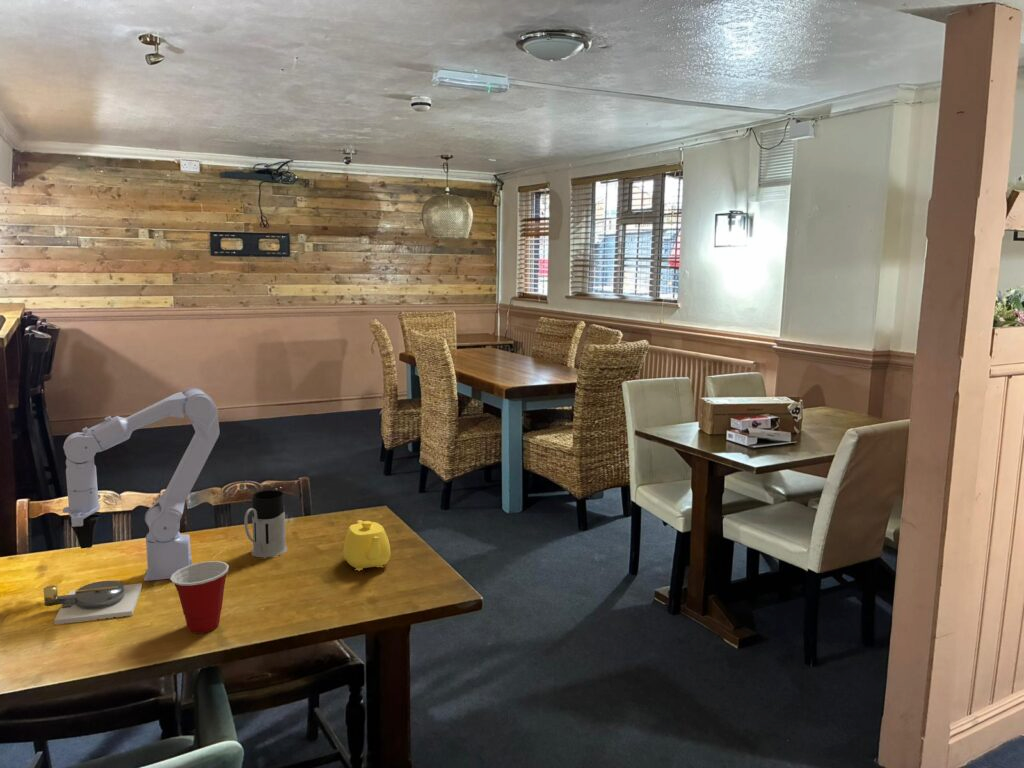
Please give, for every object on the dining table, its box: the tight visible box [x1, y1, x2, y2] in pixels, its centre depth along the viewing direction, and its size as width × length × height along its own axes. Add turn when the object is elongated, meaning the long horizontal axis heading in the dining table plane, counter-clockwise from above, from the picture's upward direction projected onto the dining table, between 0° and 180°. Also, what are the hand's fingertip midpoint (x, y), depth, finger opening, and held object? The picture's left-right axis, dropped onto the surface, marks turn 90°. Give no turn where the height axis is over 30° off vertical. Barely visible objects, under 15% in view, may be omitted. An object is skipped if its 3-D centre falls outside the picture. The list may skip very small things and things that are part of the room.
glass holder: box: [243, 489, 288, 559], centre depth 185 cm, size 9×14×15 cm, turn 166°
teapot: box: [342, 519, 391, 569], centre depth 180 cm, size 18×11×11 cm, turn 25°
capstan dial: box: [43, 580, 125, 608], centre depth 156 cm, size 15×9×4 cm, turn 108°
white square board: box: [53, 583, 143, 626], centre depth 157 cm, size 14×14×1 cm
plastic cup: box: [169, 560, 230, 634], centre depth 148 cm, size 11×11×12 cm
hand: (86, 547), depth 164 cm, fingers closed
